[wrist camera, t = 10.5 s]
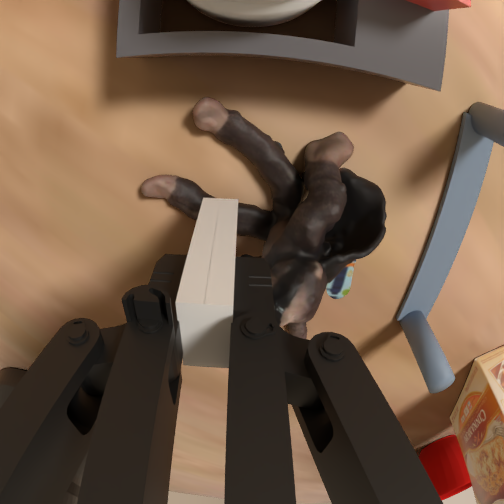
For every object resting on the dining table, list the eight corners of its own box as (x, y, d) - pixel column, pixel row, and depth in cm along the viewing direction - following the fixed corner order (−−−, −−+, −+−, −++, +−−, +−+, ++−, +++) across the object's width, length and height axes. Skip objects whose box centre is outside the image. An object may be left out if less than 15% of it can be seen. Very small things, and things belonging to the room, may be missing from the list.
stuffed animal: (265, 38, 11) (469, 292, 9) (312, 111, 20) (424, 258, 18) (88, 220, 15) (221, 430, 13) (188, 218, 24) (281, 353, 22)
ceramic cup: (370, 470, 41) (379, 519, 33) (452, 422, 34) (472, 479, 25) (410, 468, 45) (420, 510, 37) (482, 425, 37) (498, 470, 29)
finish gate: (391, 326, 21) (419, 395, 16) (466, 96, 12) (548, 126, 7) (419, 325, 21) (450, 390, 16) (496, 109, 12) (574, 143, 7)
